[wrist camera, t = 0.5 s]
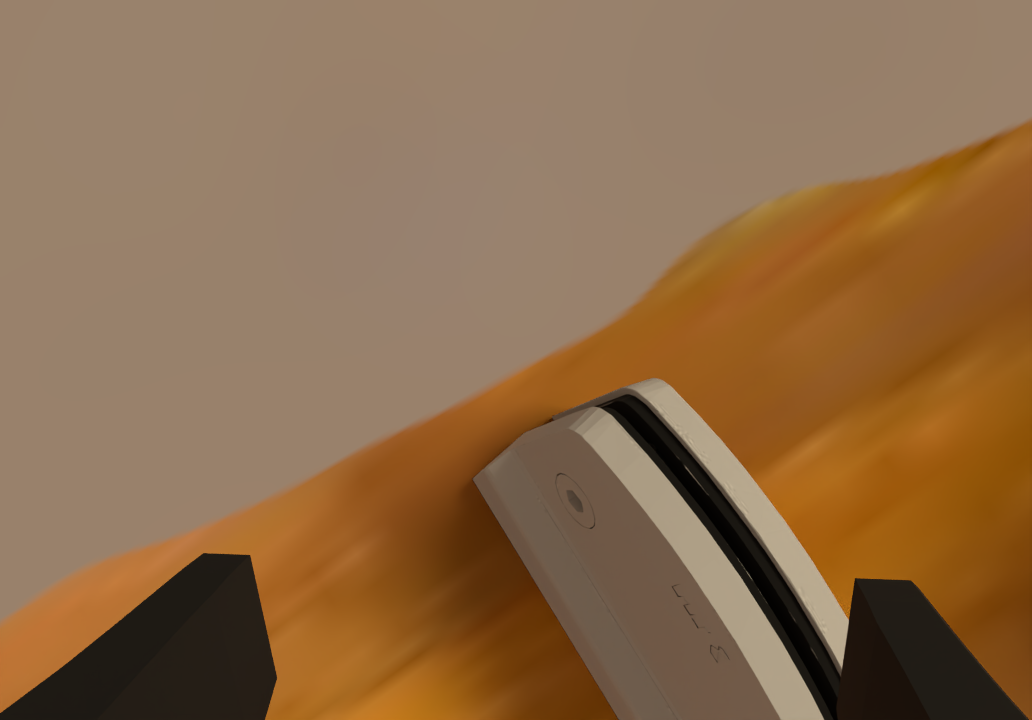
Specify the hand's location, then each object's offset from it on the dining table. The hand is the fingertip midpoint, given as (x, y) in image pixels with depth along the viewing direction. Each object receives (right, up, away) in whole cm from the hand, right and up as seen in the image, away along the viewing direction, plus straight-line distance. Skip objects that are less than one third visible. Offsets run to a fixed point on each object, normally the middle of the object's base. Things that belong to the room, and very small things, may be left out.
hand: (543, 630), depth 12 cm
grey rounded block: (+6, -6, +25) cm, 26 cm away
